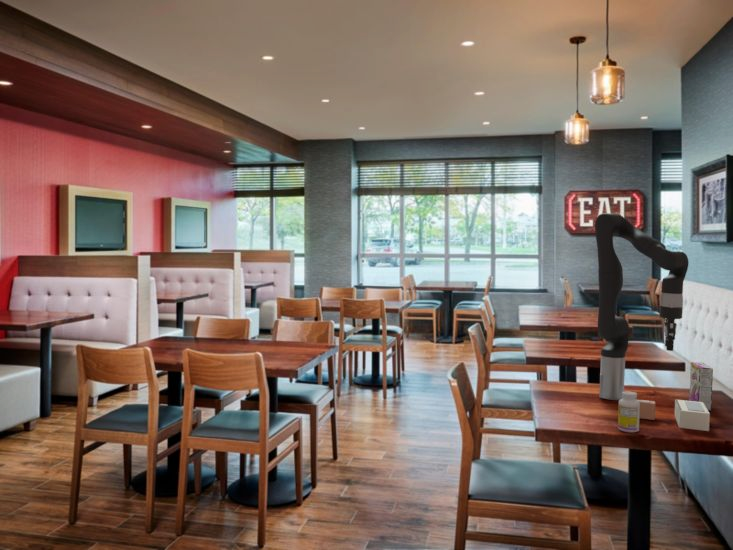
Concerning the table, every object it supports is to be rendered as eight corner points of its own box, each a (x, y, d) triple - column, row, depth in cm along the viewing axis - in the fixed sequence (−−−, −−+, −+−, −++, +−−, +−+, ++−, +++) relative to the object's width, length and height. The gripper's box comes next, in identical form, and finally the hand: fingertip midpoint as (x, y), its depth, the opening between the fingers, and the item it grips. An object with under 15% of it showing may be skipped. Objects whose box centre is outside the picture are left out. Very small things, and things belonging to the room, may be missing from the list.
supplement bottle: (624, 425, 211) (625, 389, 210) (642, 430, 206) (644, 393, 205) (613, 429, 207) (615, 392, 206) (632, 434, 201) (634, 396, 201)
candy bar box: (688, 402, 243) (690, 361, 242) (701, 403, 242) (703, 362, 241) (697, 409, 232) (699, 367, 231) (711, 410, 231) (713, 368, 230)
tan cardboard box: (630, 417, 221) (631, 400, 220) (630, 414, 224) (630, 398, 224) (654, 419, 218) (655, 403, 217) (653, 416, 221) (654, 400, 221)
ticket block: (679, 427, 209) (680, 410, 209) (674, 415, 224) (675, 398, 224) (708, 431, 206) (709, 413, 206) (702, 418, 221) (702, 401, 221)
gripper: (659, 302, 233) (656, 344, 234) (661, 306, 220) (658, 350, 221) (681, 303, 230) (678, 346, 231) (684, 307, 217) (682, 352, 218)
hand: (668, 348), depth 226 cm, fingers open, 8 cm apart
